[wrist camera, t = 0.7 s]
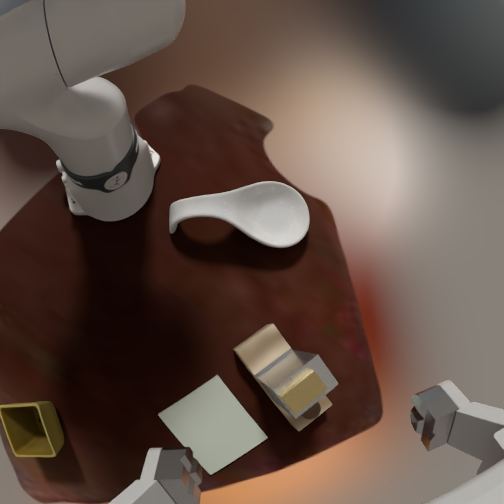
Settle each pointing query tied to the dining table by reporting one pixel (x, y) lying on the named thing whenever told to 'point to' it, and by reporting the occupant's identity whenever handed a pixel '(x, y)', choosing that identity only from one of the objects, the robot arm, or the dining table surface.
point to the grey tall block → (297, 381)
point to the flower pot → (32, 429)
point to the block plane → (266, 355)
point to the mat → (213, 425)
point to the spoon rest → (252, 212)
